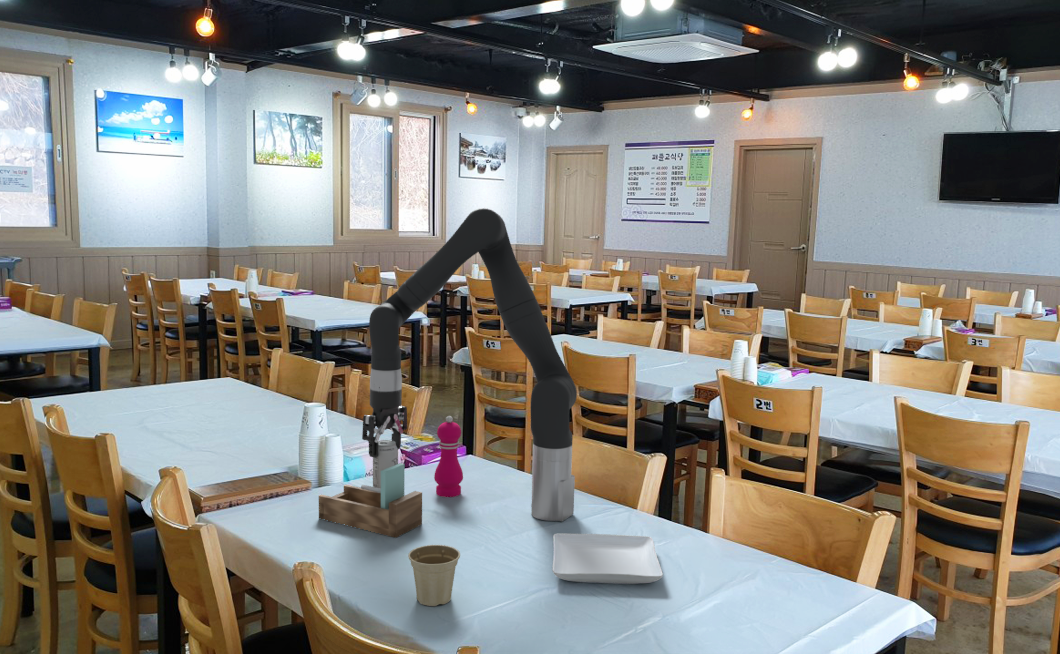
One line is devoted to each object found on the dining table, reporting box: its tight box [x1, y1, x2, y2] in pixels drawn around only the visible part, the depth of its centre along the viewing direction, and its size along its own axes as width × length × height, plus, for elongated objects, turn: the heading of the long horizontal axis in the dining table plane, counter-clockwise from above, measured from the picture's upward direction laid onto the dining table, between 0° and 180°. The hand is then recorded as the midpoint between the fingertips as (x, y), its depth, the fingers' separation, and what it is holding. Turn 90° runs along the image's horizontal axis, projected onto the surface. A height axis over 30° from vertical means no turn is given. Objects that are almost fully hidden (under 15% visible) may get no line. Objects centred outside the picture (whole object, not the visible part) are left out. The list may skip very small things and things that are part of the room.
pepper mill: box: [433, 415, 464, 498], centre depth 214 cm, size 7×7×20 cm
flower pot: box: [408, 544, 461, 607], centre depth 156 cm, size 9×9×9 cm
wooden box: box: [318, 484, 423, 539], centre depth 194 cm, size 22×10×8 cm, turn 62°
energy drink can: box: [372, 439, 399, 488], centre depth 207 cm, size 6×6×15 cm
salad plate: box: [551, 532, 664, 585], centre depth 173 cm, size 21×21×3 cm
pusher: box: [360, 462, 406, 510], centre depth 193 cm, size 9×7×12 cm
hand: (385, 452), depth 206 cm, fingers open, 8 cm apart
